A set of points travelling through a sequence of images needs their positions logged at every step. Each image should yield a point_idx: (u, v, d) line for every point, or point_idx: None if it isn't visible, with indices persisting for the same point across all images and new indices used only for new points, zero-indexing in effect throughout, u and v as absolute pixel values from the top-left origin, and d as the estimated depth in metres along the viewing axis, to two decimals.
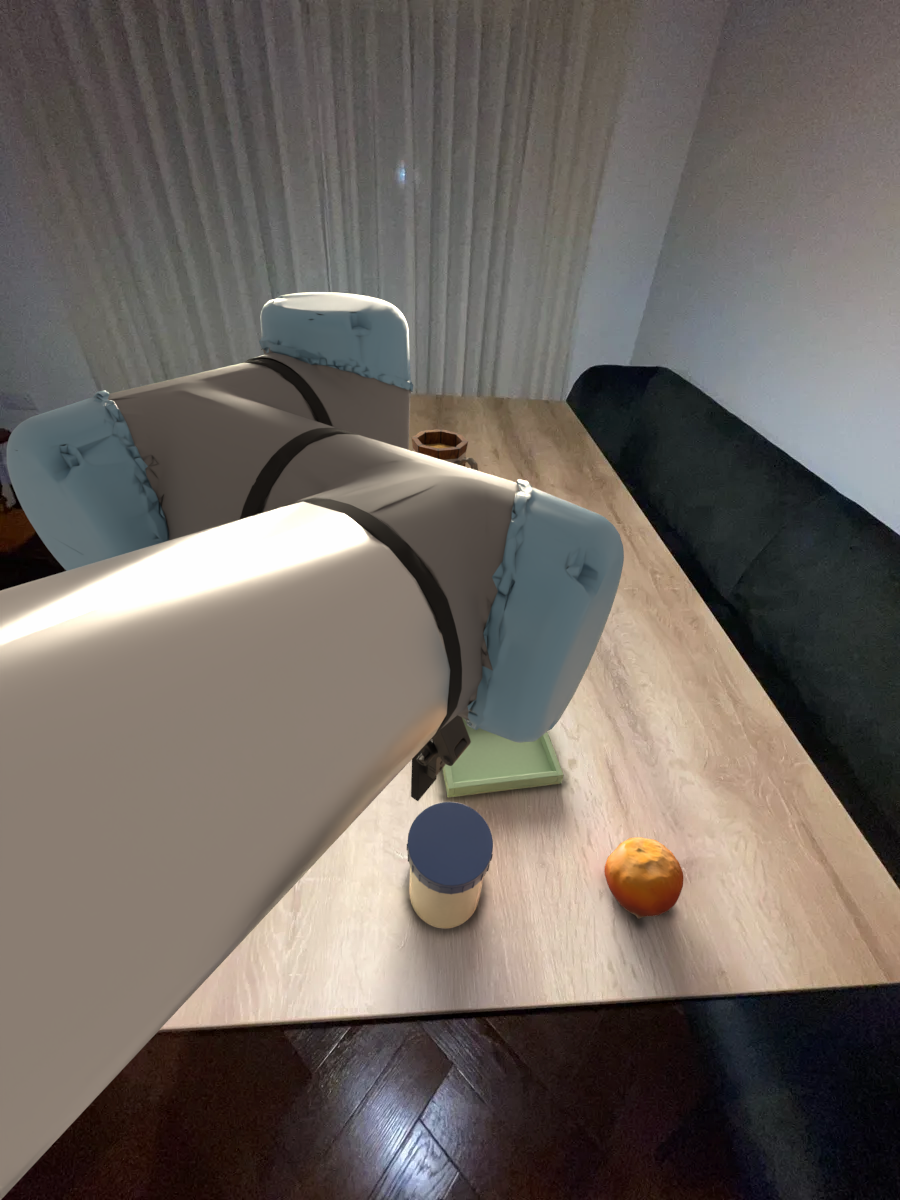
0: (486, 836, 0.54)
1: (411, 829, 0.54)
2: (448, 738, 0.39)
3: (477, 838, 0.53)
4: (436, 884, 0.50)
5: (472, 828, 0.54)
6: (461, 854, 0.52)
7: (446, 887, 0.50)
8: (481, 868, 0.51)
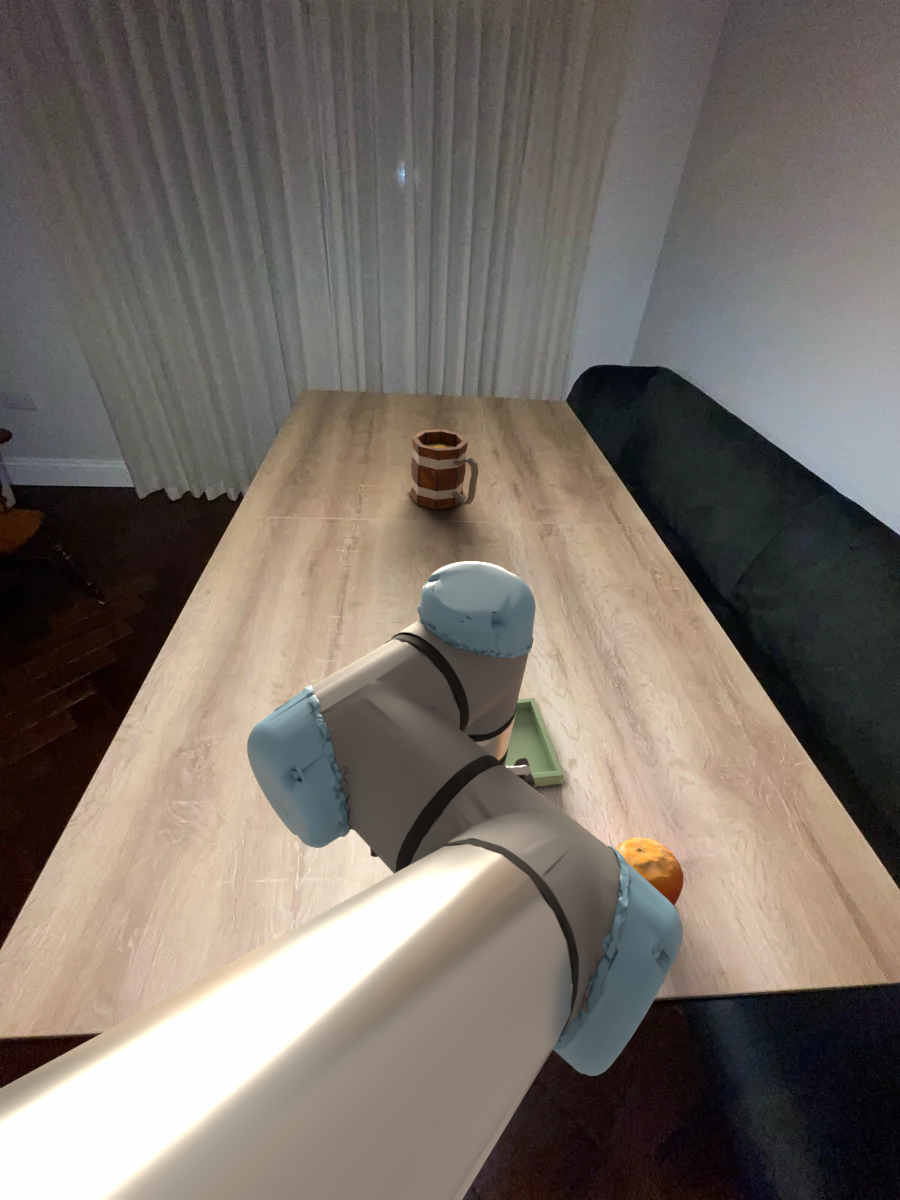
0: None
1: None
2: None
3: None
4: None
5: None
6: None
7: None
8: None
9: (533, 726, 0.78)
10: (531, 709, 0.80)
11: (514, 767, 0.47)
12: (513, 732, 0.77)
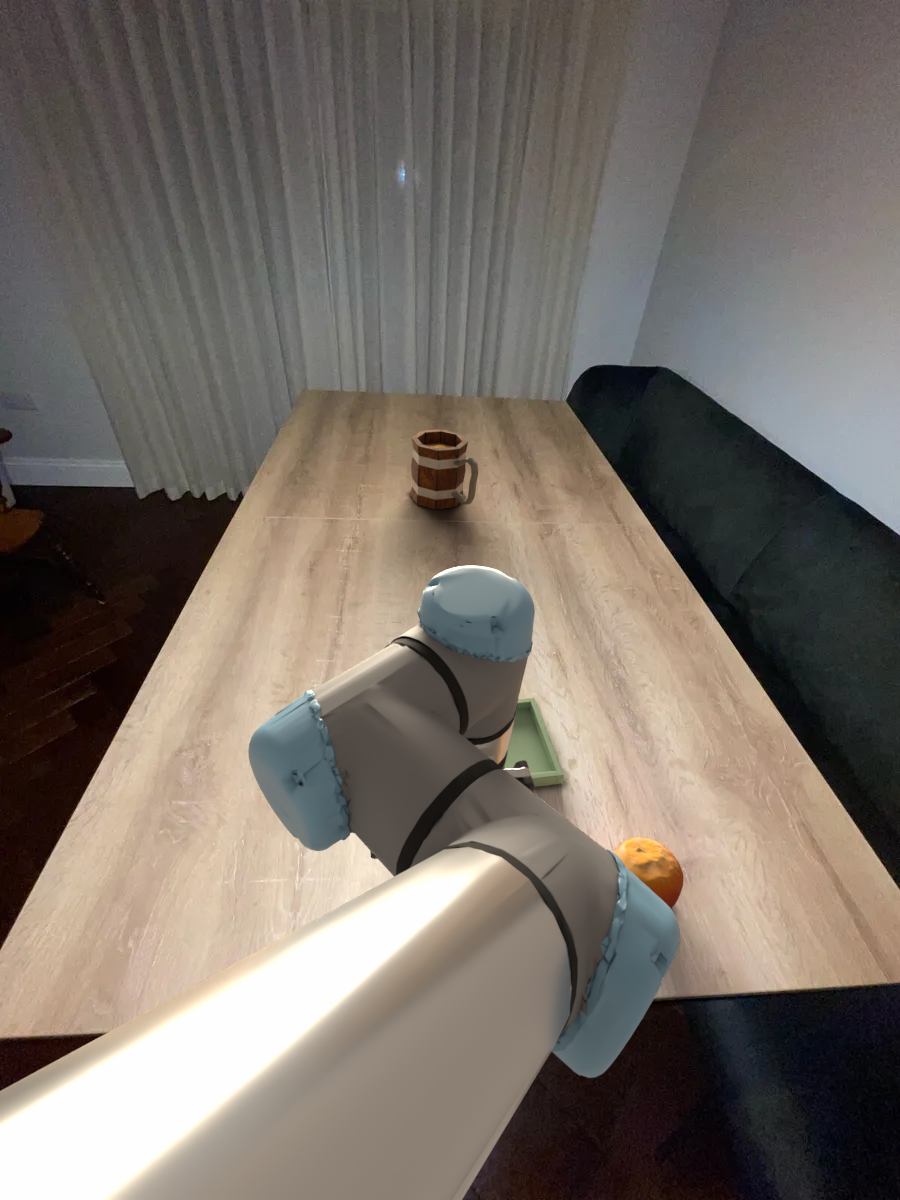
0: None
1: None
2: None
3: None
4: None
5: None
6: None
7: None
8: None
9: (533, 726, 0.78)
10: (531, 709, 0.80)
11: (513, 769, 0.48)
12: (513, 732, 0.77)
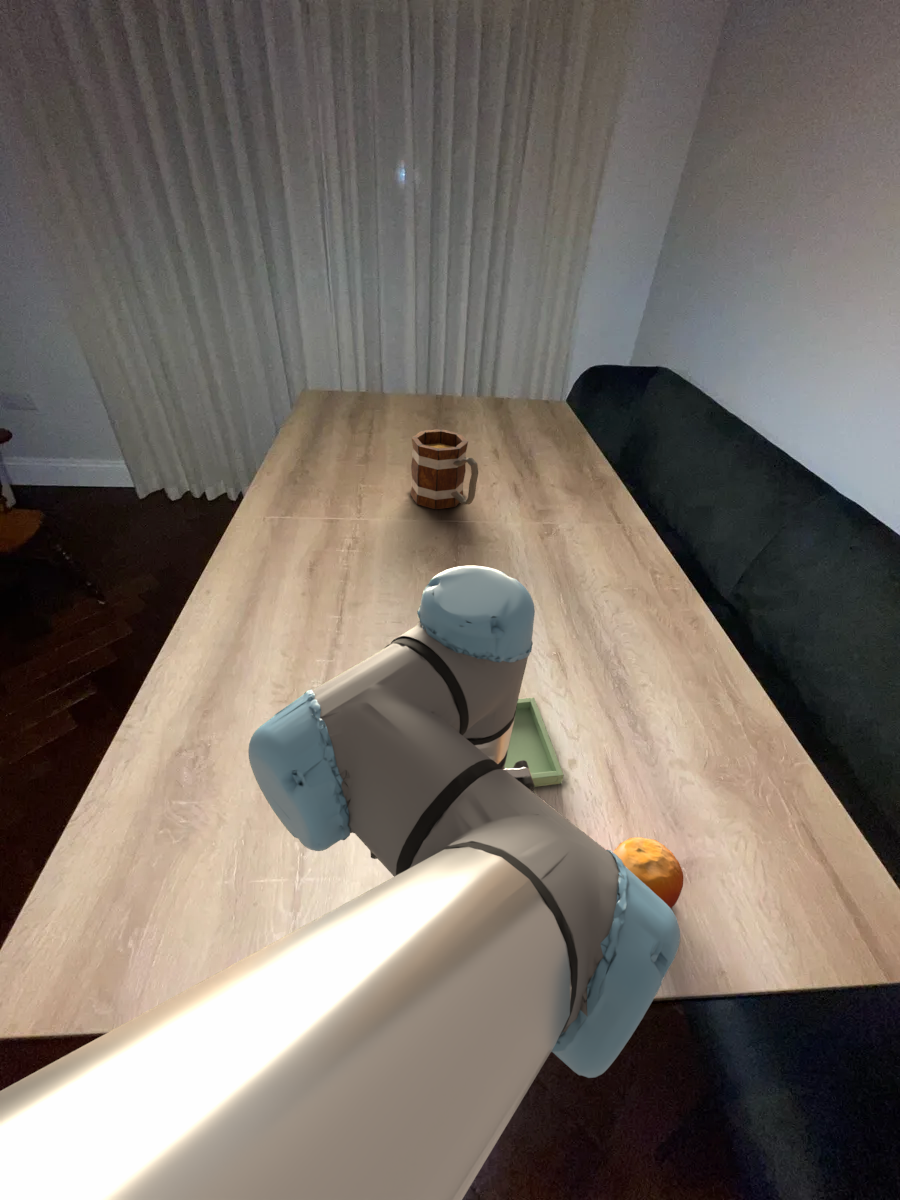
0: None
1: None
2: None
3: None
4: None
5: None
6: None
7: None
8: None
9: (533, 726, 0.78)
10: (531, 709, 0.80)
11: (513, 769, 0.48)
12: (513, 732, 0.77)
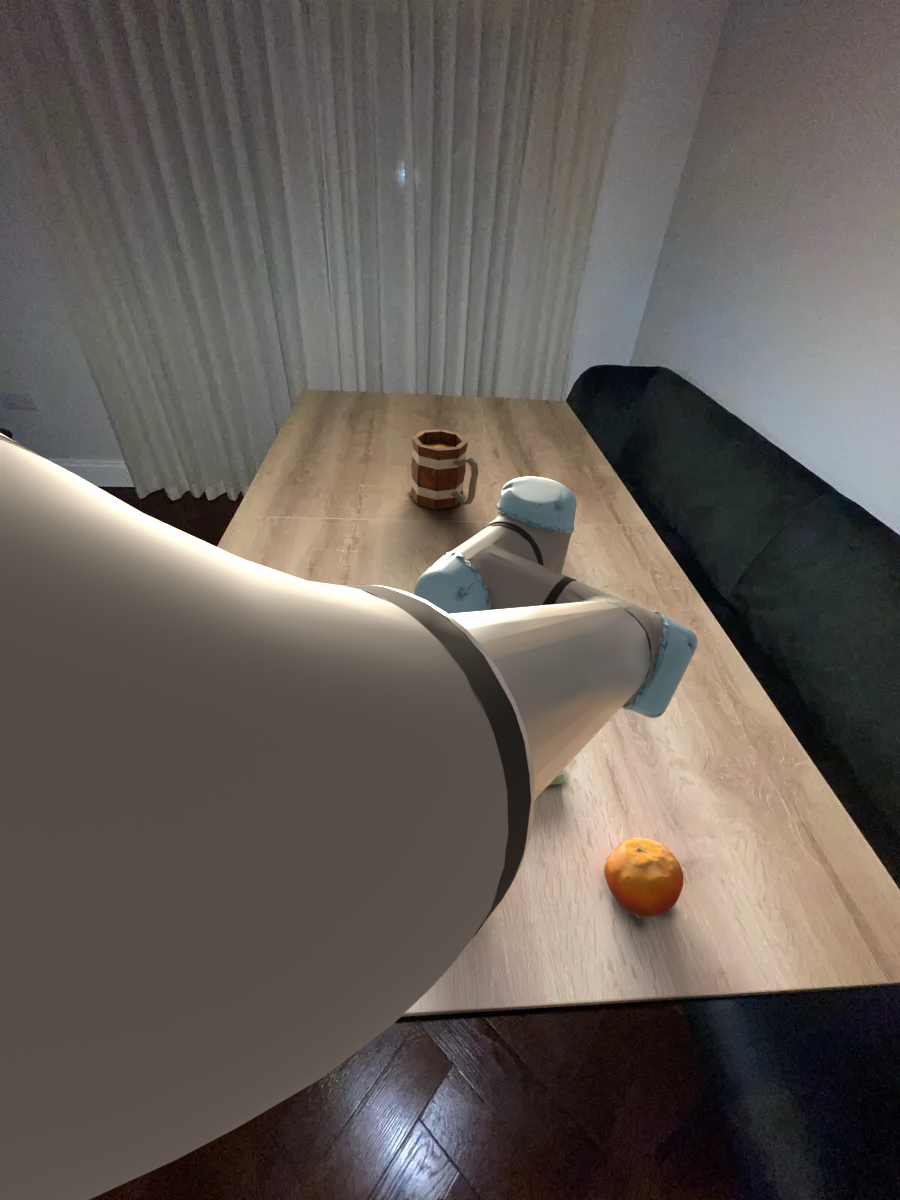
0: None
1: None
2: None
3: None
4: None
5: None
6: None
7: None
8: None
9: None
10: None
11: None
12: None
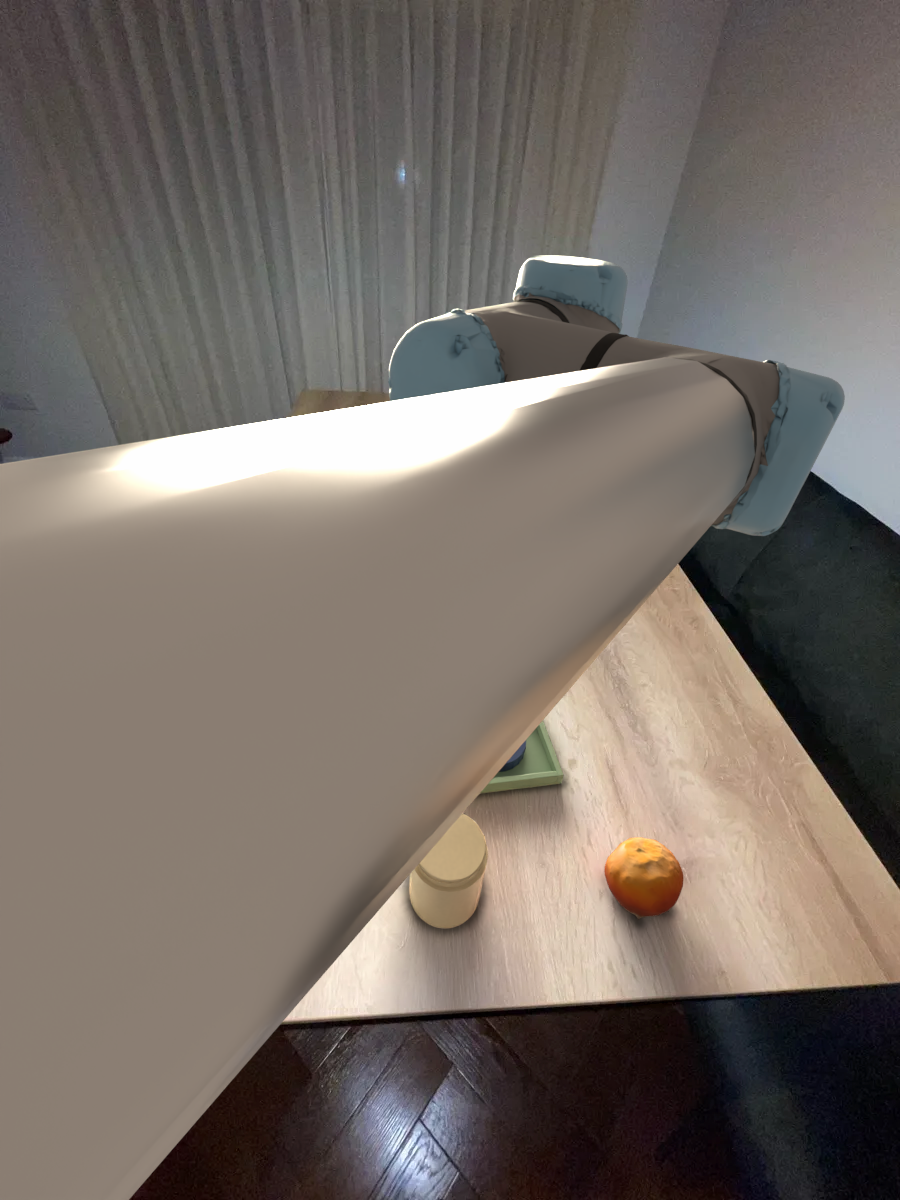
0: None
1: None
2: None
3: None
4: None
5: None
6: None
7: None
8: None
9: None
10: None
11: None
12: None
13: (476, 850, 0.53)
